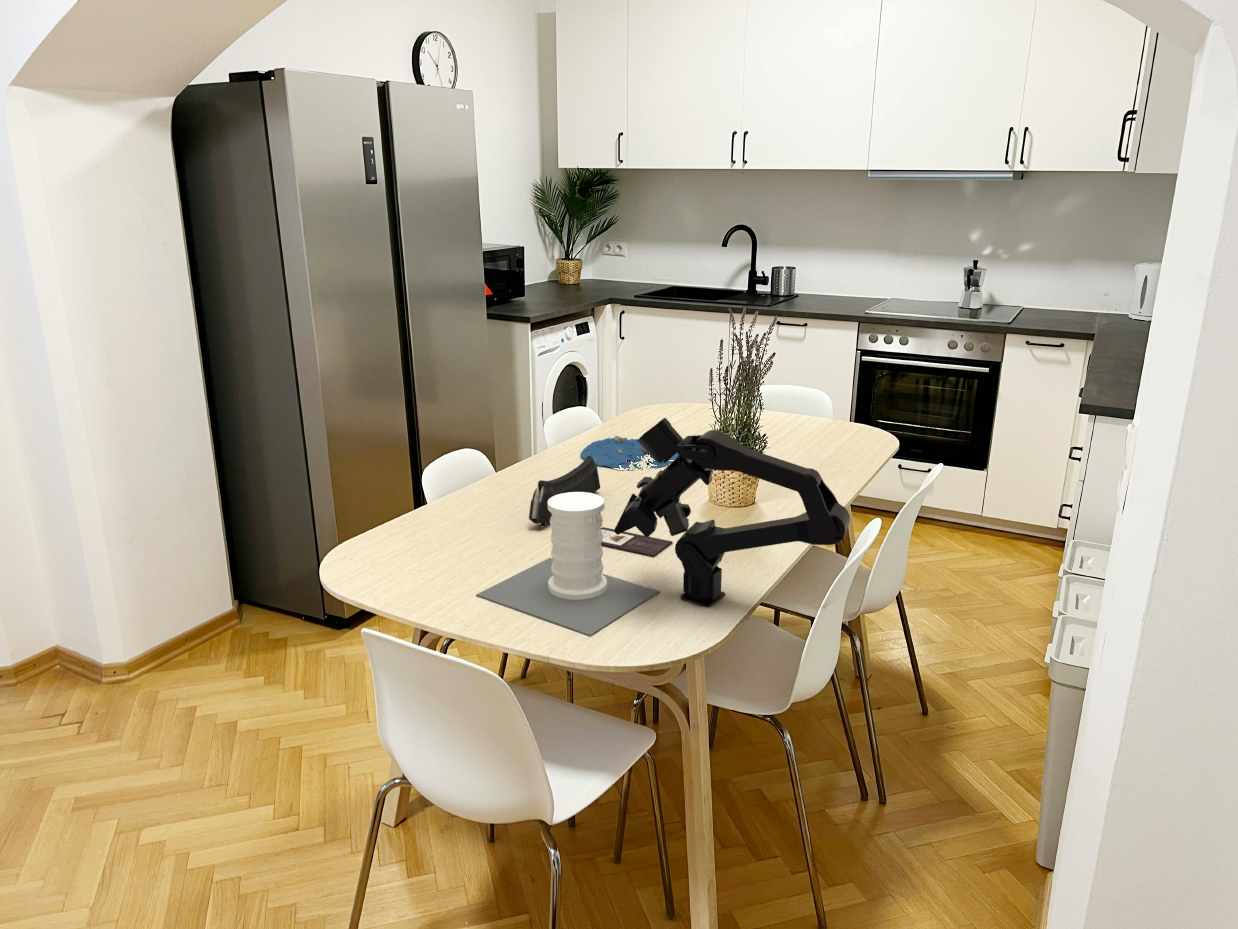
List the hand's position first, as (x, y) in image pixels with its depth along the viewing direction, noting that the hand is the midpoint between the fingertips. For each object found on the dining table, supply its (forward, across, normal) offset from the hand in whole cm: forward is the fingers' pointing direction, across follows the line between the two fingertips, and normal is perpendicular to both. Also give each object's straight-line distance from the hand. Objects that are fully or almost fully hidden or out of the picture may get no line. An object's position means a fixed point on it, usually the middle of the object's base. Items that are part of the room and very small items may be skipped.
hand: (615, 532), depth 172 cm
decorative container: (+14, -1, -3) cm, 14 cm away
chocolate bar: (+10, +24, -8) cm, 27 cm away
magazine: (+23, +42, +5) cm, 48 cm away
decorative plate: (+17, +91, -2) cm, 93 cm away
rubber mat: (+15, -4, -2) cm, 15 cm away
